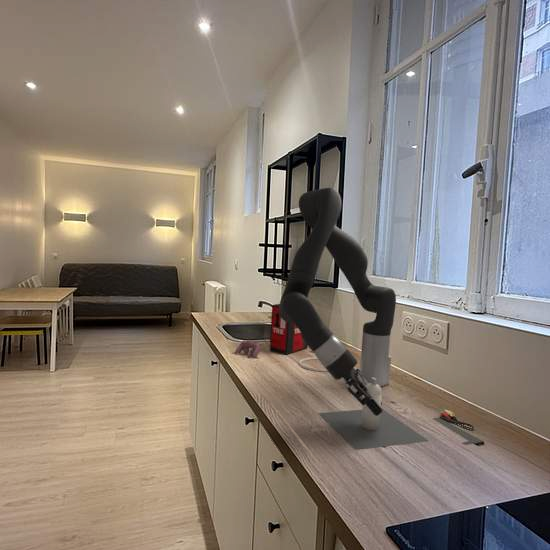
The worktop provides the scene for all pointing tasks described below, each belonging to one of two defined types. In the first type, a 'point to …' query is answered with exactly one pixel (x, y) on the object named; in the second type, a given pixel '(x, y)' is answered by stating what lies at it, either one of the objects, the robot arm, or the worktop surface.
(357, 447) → the mat
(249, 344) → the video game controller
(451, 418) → the composite cable
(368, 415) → the white pump bottle
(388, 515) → the worktop surface
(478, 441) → the smartphone
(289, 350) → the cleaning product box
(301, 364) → the hand towel holder
